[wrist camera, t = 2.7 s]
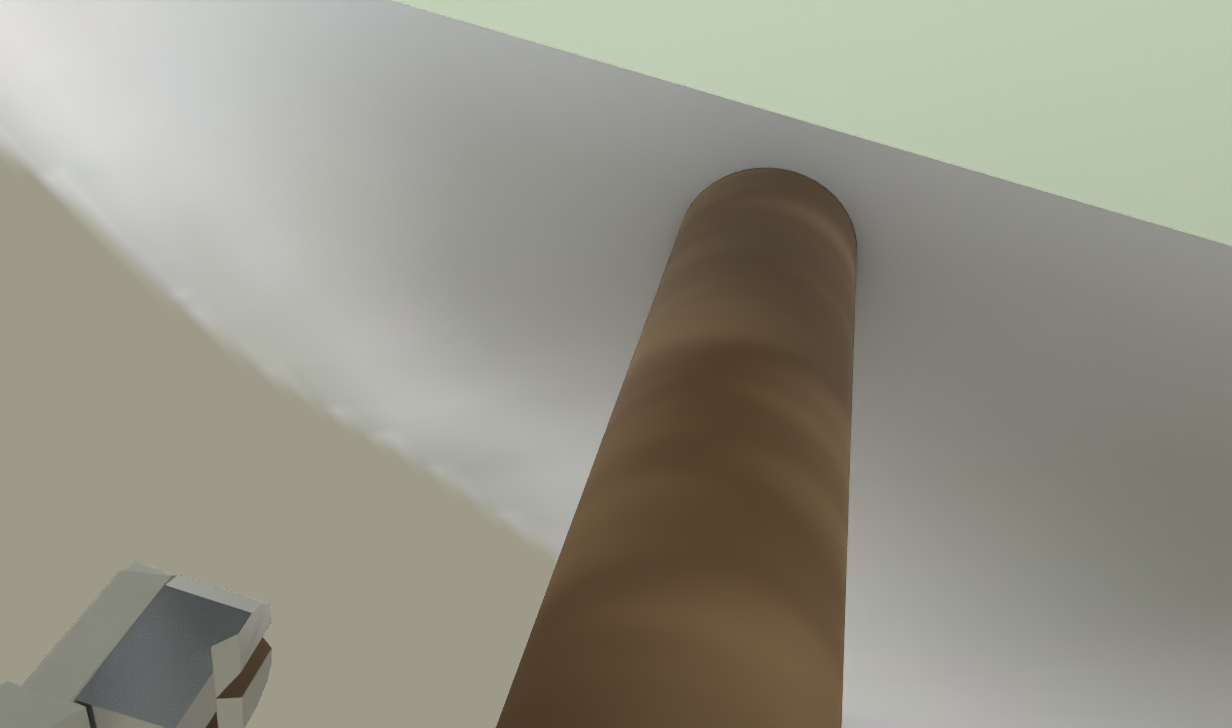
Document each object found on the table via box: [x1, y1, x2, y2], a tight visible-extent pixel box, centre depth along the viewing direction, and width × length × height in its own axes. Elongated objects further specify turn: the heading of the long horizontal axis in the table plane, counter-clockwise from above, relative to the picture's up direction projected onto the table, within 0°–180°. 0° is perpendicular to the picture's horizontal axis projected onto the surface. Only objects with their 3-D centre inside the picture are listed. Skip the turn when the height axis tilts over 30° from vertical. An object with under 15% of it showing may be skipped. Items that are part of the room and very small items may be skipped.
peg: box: [496, 168, 857, 728], centre depth 14 cm, size 4×4×12 cm
